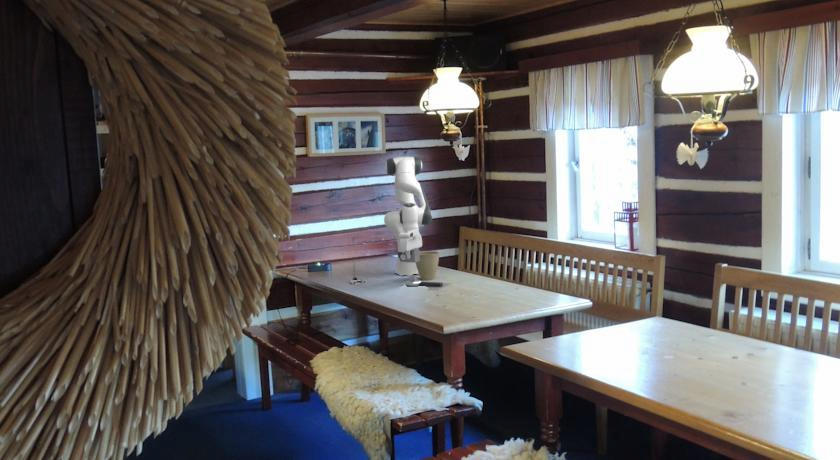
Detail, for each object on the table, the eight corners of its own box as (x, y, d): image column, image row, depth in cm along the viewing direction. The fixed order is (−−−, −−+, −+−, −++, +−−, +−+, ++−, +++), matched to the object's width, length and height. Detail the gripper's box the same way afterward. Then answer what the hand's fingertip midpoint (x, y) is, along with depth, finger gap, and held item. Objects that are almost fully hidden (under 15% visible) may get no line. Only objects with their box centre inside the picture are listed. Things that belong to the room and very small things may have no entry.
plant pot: (440, 281, 450) (439, 254, 448) (414, 282, 450) (413, 255, 449) (440, 276, 465) (439, 250, 463) (415, 278, 465) (414, 251, 463)
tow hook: (367, 283, 458) (361, 280, 467) (366, 262, 456) (360, 259, 464) (354, 285, 455) (348, 282, 463) (353, 264, 453) (346, 261, 461)
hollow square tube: (410, 260, 442) (409, 248, 441) (419, 260, 439) (419, 248, 438) (405, 262, 436) (404, 249, 436) (414, 262, 434) (414, 249, 433)
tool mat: (411, 282, 452) (410, 281, 451) (452, 284, 440) (452, 283, 440) (394, 289, 434) (394, 288, 434) (437, 291, 422) (437, 290, 422)
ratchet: (403, 286, 438) (402, 276, 437) (410, 283, 445) (409, 273, 445) (438, 288, 428) (437, 277, 427) (444, 285, 436) (444, 274, 435)
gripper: (414, 230, 447) (415, 254, 448) (397, 235, 428) (398, 260, 430) (424, 230, 444) (425, 254, 445) (407, 235, 426) (409, 260, 427)
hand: (412, 257), depth 437 cm, fingers closed on hollow square tube, 6 cm apart
